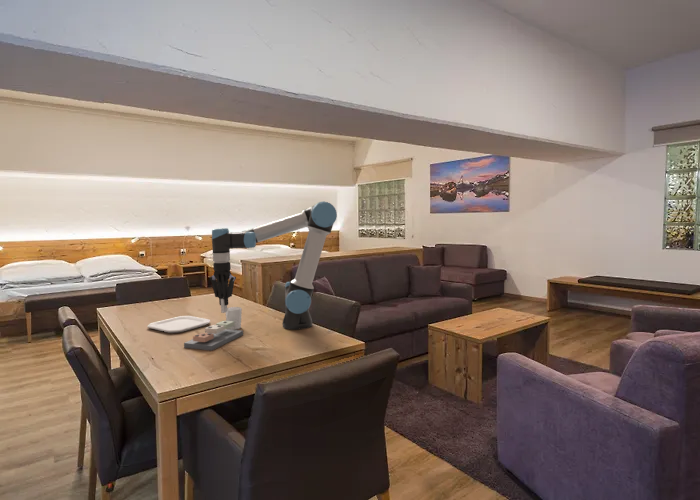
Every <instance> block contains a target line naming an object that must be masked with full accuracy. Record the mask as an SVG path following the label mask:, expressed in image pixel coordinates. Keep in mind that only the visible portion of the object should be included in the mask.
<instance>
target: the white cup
mask: <svg viewBox="0 0 700 500" xmlns="http://www.w3.org/2000/svg"><path fill="white" fill-rule="evenodd" d="M242 311H243V309H242V307H240V306H231V307H227V312H225V318H226V319H225V321H234V326H233V327H230V328H228V329H230V330H241V328H242Z"/></svg>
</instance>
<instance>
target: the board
mask: <svg viewBox="0 0 700 500" xmlns="http://www.w3.org/2000/svg"><path fill="white" fill-rule="evenodd" d="M212 334H214V333H212ZM242 336H244V330H241V329H236V330H230V329H224V331H221V332H219V333H217V334H214V338H213V339H211V340H209V341H207V342H197V341H193V338H192V339H189V340H188V341H185V342H184V343H183V348H185V349H187V348H188V349H194V350H195V349H196V350H203V351H204V350H205V351H213V350H214V351H215V350H216V349H218V348H220V347H222V346H223V345H226V344H228V343H230V342H232V341H233V340H237V339H238V338H240V337H242Z"/></svg>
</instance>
